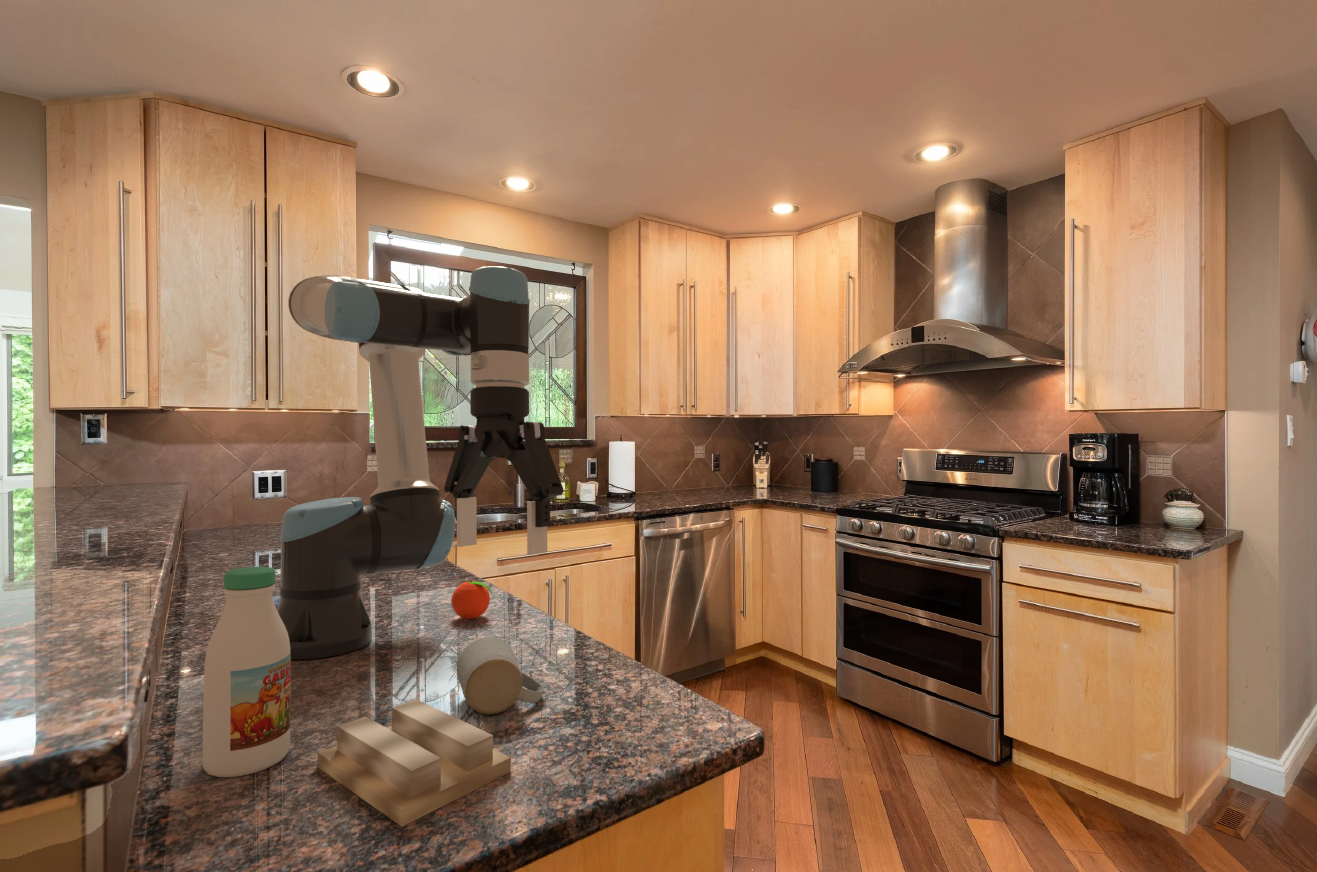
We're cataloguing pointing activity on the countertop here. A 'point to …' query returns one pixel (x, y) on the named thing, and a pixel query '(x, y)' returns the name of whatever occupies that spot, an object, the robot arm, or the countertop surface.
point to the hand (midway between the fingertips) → (500, 549)
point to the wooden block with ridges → (413, 760)
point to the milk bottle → (247, 679)
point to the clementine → (471, 599)
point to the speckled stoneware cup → (494, 677)
